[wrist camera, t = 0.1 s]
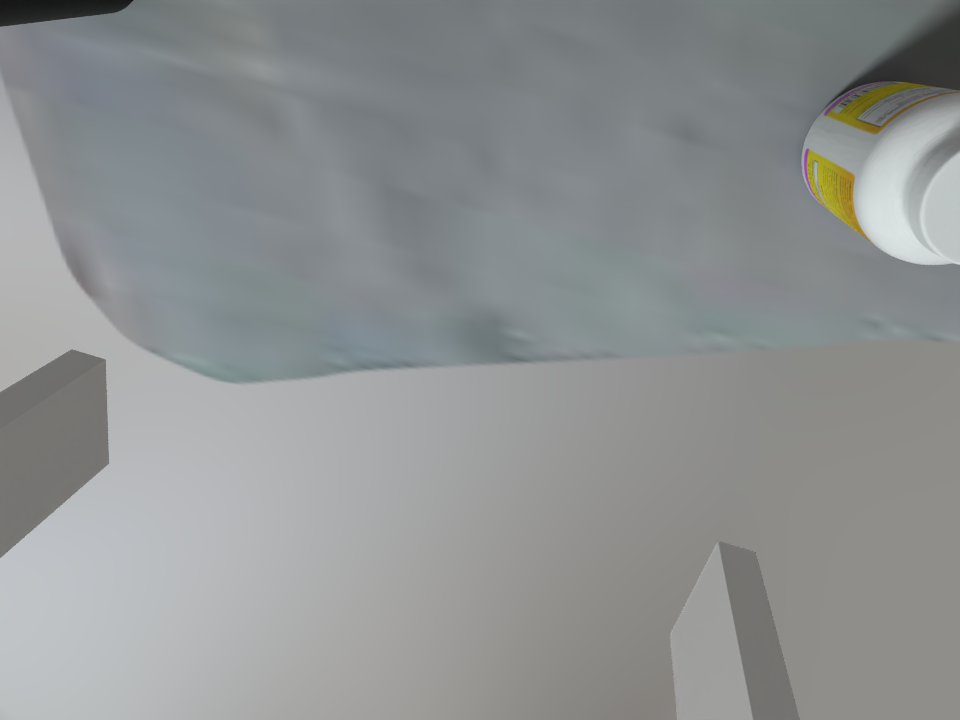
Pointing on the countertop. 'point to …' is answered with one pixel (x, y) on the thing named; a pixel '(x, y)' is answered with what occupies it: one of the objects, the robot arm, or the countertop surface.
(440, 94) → the countertop surface
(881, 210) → the supplement bottle
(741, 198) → the countertop surface
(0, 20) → the drinking cup
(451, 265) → the countertop surface
